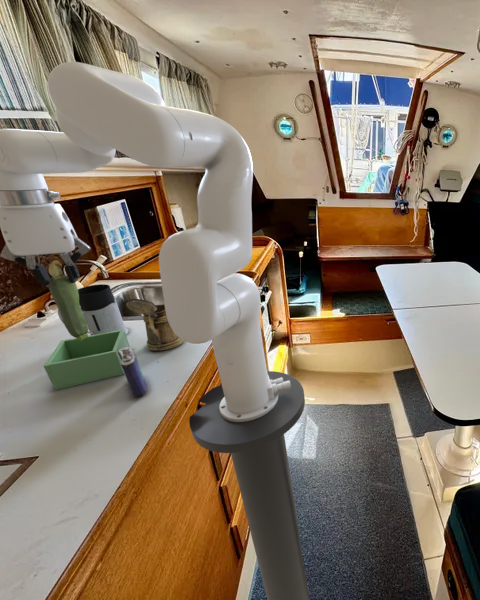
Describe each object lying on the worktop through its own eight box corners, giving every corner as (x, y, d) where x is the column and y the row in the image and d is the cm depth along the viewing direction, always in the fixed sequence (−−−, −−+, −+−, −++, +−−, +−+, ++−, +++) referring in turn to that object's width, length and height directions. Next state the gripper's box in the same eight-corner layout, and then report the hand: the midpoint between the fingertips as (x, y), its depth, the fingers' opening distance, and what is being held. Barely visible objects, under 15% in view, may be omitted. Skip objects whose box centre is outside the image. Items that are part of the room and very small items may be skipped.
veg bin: (131, 349, 90) (124, 329, 87) (124, 374, 80) (115, 351, 78) (71, 362, 84) (61, 340, 81) (55, 390, 74) (43, 366, 72)
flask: (128, 380, 78) (114, 342, 74) (143, 375, 80) (130, 338, 76) (134, 400, 72) (118, 360, 68) (150, 394, 74) (136, 355, 70)
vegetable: (66, 340, 77) (32, 260, 69) (87, 332, 81) (56, 255, 73) (79, 344, 76) (45, 263, 68) (100, 335, 80) (70, 257, 72)
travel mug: (135, 329, 100) (120, 284, 94) (89, 354, 88) (68, 304, 81) (111, 326, 101) (94, 282, 95) (61, 351, 89) (38, 301, 82)
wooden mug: (133, 362, 85) (111, 300, 77) (155, 337, 97) (138, 281, 89) (171, 358, 87) (153, 297, 80) (189, 334, 99) (174, 279, 92)
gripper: (84, 195, 72) (111, 272, 80) (-26, 197, 64) (15, 283, 72) (75, 199, 67) (105, 282, 74) (-48, 202, 59) (-1, 294, 66)
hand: (60, 281), depth 73 cm, fingers closed on vegetable, 4 cm apart
